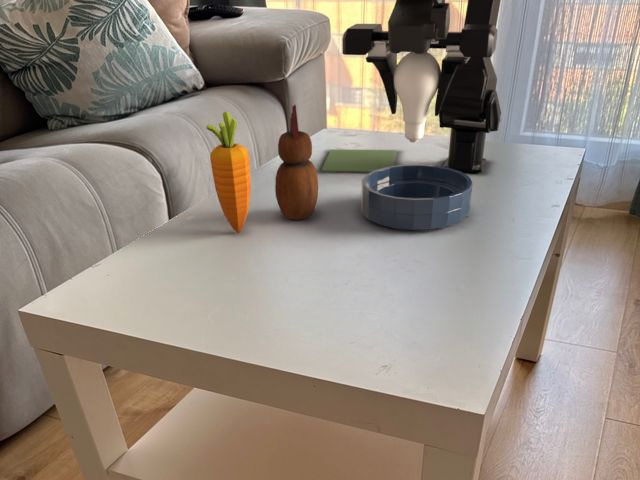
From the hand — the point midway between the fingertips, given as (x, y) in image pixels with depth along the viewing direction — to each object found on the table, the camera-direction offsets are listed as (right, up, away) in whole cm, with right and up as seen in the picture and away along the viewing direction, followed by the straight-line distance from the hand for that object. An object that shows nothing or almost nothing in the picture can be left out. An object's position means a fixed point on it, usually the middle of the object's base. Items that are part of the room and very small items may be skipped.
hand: (414, 114), depth 85 cm
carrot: (-24, -15, +2) cm, 29 cm away
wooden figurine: (-16, -12, +7) cm, 21 cm away
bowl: (+1, -11, +6) cm, 13 cm away
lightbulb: (0, -3, +2) cm, 4 cm away
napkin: (-6, +4, +26) cm, 27 cm away
